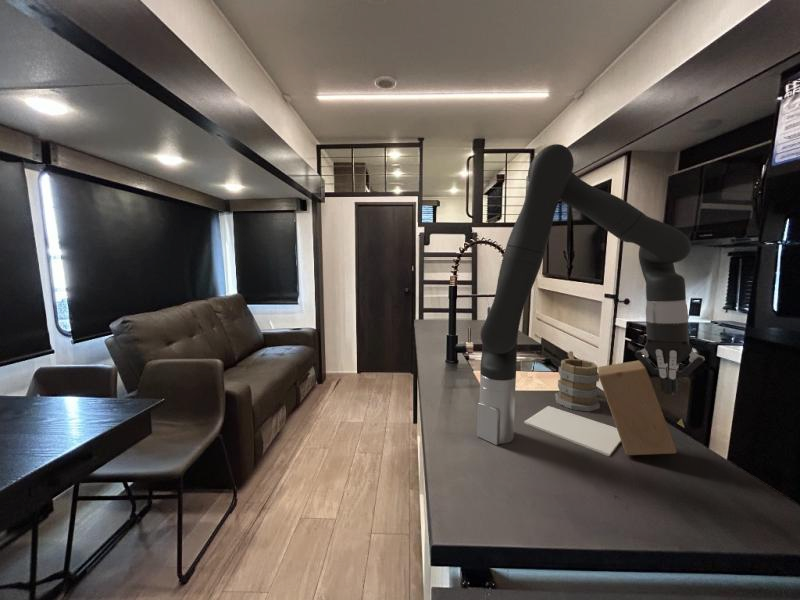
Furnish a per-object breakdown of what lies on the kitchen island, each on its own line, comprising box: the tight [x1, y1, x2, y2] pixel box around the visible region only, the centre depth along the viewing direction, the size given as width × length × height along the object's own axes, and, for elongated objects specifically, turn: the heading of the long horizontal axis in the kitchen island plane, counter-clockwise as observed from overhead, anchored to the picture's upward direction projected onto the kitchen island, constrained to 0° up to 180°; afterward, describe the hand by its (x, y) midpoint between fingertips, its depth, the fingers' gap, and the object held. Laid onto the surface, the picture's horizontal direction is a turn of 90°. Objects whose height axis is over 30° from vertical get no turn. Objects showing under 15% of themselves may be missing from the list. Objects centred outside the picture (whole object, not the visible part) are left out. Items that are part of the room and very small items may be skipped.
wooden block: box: [597, 359, 677, 456], centre depth 81 cm, size 10×10×20 cm
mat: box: [523, 405, 622, 457], centre depth 92 cm, size 16×22×1 cm
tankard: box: [554, 350, 601, 412], centre depth 112 cm, size 20×13×15 cm, turn 161°
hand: (669, 393), depth 75 cm, fingers closed
